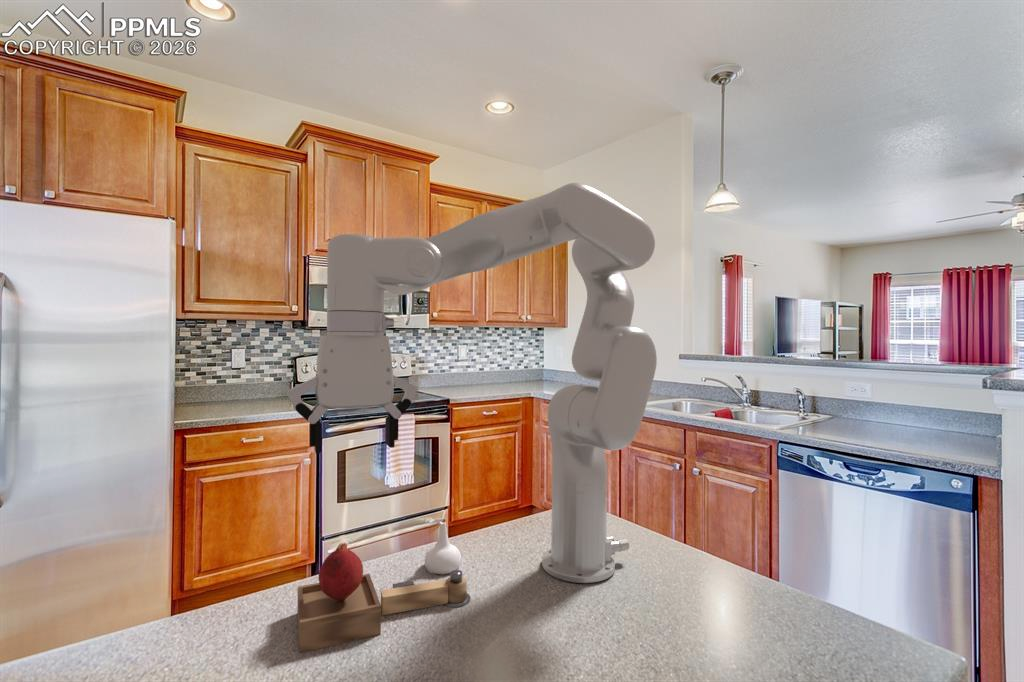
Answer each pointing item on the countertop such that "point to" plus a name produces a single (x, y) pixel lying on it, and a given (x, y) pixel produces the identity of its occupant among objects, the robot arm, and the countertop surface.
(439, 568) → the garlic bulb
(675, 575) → the countertop surface
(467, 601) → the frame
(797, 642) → the countertop surface
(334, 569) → the onion
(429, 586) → the leg
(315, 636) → the wooden tray
